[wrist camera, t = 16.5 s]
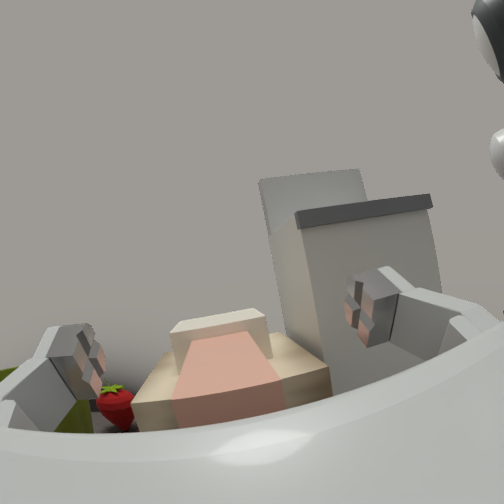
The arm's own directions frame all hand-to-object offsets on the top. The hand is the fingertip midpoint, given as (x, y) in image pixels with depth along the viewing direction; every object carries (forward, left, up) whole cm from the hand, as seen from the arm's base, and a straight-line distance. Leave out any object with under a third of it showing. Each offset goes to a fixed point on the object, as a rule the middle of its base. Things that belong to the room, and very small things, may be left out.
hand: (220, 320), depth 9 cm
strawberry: (+20, -37, -21) cm, 47 cm away
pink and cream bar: (0, -10, -5) cm, 12 cm away
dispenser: (-13, -18, -21) cm, 30 cm away
